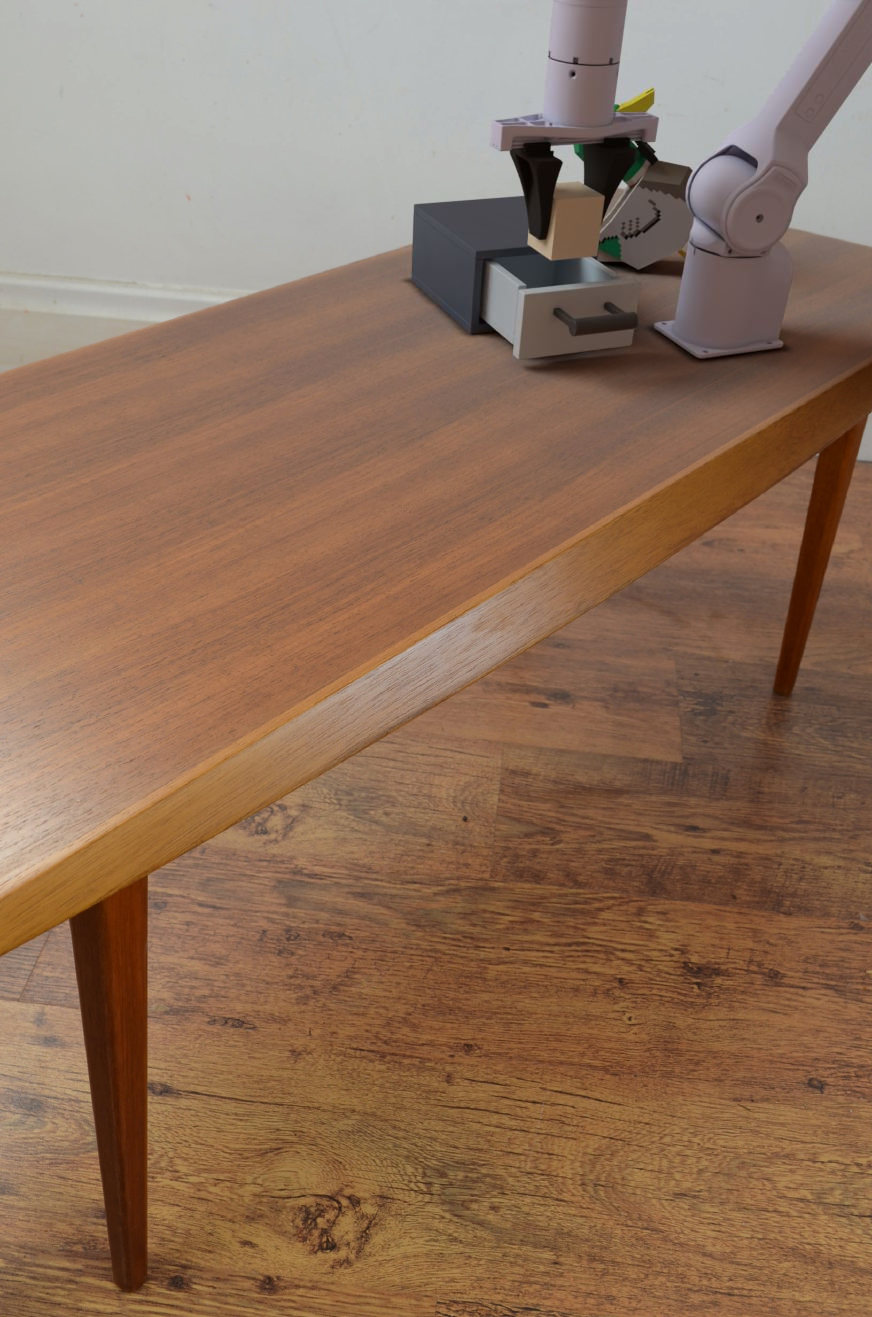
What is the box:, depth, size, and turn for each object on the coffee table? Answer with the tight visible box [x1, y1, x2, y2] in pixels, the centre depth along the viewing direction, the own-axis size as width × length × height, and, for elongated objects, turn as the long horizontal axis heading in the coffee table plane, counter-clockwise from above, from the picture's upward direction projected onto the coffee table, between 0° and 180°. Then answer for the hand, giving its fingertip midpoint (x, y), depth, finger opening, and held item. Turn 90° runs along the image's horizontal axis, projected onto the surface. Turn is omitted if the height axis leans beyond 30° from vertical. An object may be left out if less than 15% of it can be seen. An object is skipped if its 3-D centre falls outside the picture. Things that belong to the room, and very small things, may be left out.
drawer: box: [479, 254, 642, 361], centre depth 103 cm, size 18×11×6 cm, turn 23°
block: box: [527, 181, 605, 261], centre depth 98 cm, size 4×4×5 cm
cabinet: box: [410, 195, 599, 335], centre depth 111 cm, size 15×13×8 cm
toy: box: [573, 86, 694, 270], centre depth 120 cm, size 6×17×20 cm
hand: (564, 233), depth 99 cm, fingers closed on block, 4 cm apart
